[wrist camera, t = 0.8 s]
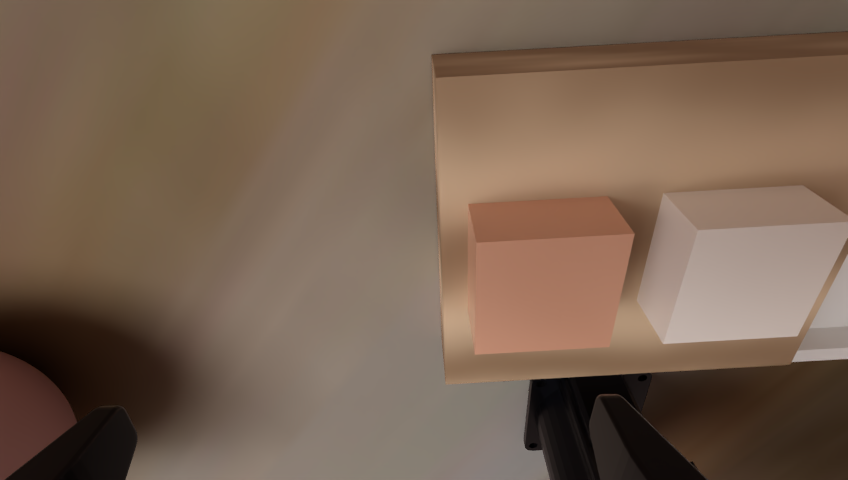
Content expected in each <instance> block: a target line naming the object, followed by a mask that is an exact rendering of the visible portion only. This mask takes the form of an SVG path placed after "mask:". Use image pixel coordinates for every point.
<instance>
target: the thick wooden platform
mask: <svg viewBox="0 0 848 480" xmlns="http://www.w3.org/2000/svg"><path fill="white" fill-rule="evenodd" d="M432 83H433V111H434V138H435V166H436V194H437V221H438V249H439V276H440V304H441V332H442V347H443V358H444V370H445V381H446V384H461V383H479V382H496V381H514V380H531V379H549V378H566V377H584V376H601V375H619V374H636V373H654V372H672V371H689V370H707V369H724V368H742V367H759V366H777V365H790V364H791V362H792V360H793V358H794V356H795V354H796V352H797V350H798V349H799V347H800V345H801V343H802V341H803V339H804V337H805V335H806V333H807V331H808V329H809V328H810V326H811V324H812V322H813V320H814V318H815V316H816V314H817V312H818V310H819V308H820V306H821V305H822V303H823V301H824V299H825V297H826V295H827V293H828V291H829V289H830V287H831V285H832V283H833V282H834V280H835V278H836V276H837V274H838V272H839V270H840V268H841V266H842V264H843V262H844V260H845V259H846V257H847V255H848V238H847V240H846V242H845V244H844V246H843V248H842V250H841V252H840V254H839V256H838V258H837V260H836V262H835V264H834V266H833V268H832V270H831V272H830V274H829V275H828V277H827V279H826V281H825V283H824V285H823V287H822V289H821V291H820V293H819V295H818V297H817V299H816V301H815V303H814V305H813V307H812V309H811V311H810V313H809V315H808V317H807V319H806V321H805V322H804V324H803V326H802V328H801V330H800V332H799V334H798V336H795V337H778V338H760V339H742V340H725V341H707V342H690V343H672V344H663V343H662V341H661V340H660V338H659V336H658V335H657V333H656V331H655V330H654V328H653V326H652V325H651V323H650V322H649V320H648V318H647V317H646V315H645V313H644V312H643V310H642V308H641V307H640V305H639V303H638V302H637V297H638V293H639V289H640V285H641V281H642V277H643V273H644V269H645V265H646V261H647V257H648V253H649V249H650V245H651V241H652V237H653V233H654V229H655V225H656V221H657V217H658V212H659V208H660V204H661V200H662V196H663V193H672V192H690V191H707V190H725V189H743V188H761V187H778V186H796V185H803V186H805V187H806V188H808V189H809V190H811V191H812V192H814V193H815V194H817V195H818V196H820V197H821V198H823V199H824V200H825V201H827V202H828V203H830V204H831V205H833V206H834V207H836V208H837V209H839V210H840V211H842V212H843V213H845V214H846V215H848V32H830V33H812V34H794V35H776V36H758V37H741V38H723V39H705V40H687V41H669V42H651V43H633V44H615V45H597V46H579V47H561V48H543V49H525V50H507V51H489V52H472V53H454V54H436V55H432ZM601 196H608V197H609V199H610V200H611V202H612V203H613V204H614V206H615V207H616V208H617V210H618V211H619V213H620V214H621V215H622V217H623V218H624V220H625V221H626V222H627V224H628V225H629V226H630V228H631V229H632V231H633V232H634V233H635V235H634V240H633V244H632V249H631V253H630V257H629V262H628V266H627V271H626V275H625V280H624V284H623V289H622V293H621V297H620V302H619V306H618V311H617V315H616V320H615V324H614V328H613V333H612V337H611V342H610V346H609V347H602V348H585V349H567V350H550V351H532V352H514V353H497V354H479V355H475V353H474V347H473V340H472V334H471V328H470V322H469V315H468V204H477V203H495V202H512V201H530V200H548V199H565V198H583V197H601Z"/></svg>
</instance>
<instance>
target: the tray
mask: <svg viewBox="0 0 848 480" xmlns="http://www.w3.org/2000/svg"><path fill="white" fill-rule="evenodd" d="M837 359H848V255H847V257H846V259H845V260H844V262H843V264H842V266H841V268H840V270H839V272H838V274H837V276H836V278H835V280H834V282H833V283H832V285H831V287H830V289H829V291H828V293H827V295H826V297H825V299H824V301H823V303H822V305H821V306H820V308H819V310H818V312H817V314H816V316H815V318H814V320H813V322H812V324H811V326H810V328H809V329H808V331H807V333H806V335H805V337H804V339H803V341H802V343H801V345H800V347H799V349H798V350H797V352H796V354H795V356H794V358H793V360H792V362H802V361H820V360H837Z"/></svg>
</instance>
